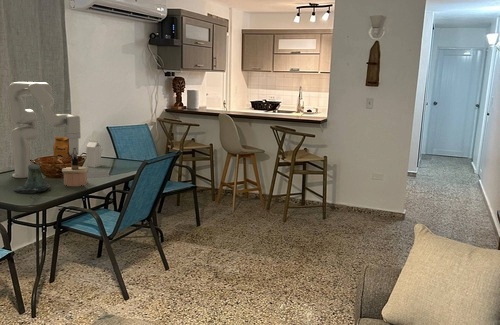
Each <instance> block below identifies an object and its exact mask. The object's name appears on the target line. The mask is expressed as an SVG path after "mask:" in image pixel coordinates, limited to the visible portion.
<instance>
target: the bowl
mask: <svg viewBox="0 0 500 325" xmlns="http://www.w3.org/2000/svg"><path fill="white" fill-rule="evenodd" d="M87 172H88V171H87ZM87 172H85V173H79V174H67V173H63V184H64V186H66V185H67V186H66V187H81V185H82V186H85V185H87V183H88V178H87Z"/></svg>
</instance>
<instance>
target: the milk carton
mask: <svg viewBox="0 0 500 325" xmlns="http://www.w3.org/2000/svg"><path fill="white" fill-rule="evenodd" d="M101 146H102V145H101V144H100V143H99V142H98V140H92V139H89V141H88V143H87V144H86V146H85V147H86V149H85V150H86V153H85V154H86V168H97V167H101V166H102V153H101V152H102V150H101V149H102V148H101Z"/></svg>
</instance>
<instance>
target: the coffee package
mask: <svg viewBox="0 0 500 325" xmlns="http://www.w3.org/2000/svg"><path fill="white" fill-rule="evenodd" d="M54 139H55V141H54V145H53V150H52V151H53V157H54V156H60V157H69V156H72V154H71V155H70V153H69V139H68V138H67V137H63V136H55V137H54Z"/></svg>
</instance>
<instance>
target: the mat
mask: <svg viewBox="0 0 500 325" xmlns="http://www.w3.org/2000/svg"><path fill="white" fill-rule="evenodd" d="M106 177H107V178H108V177H109V178H110V177H111V176H110V174H109V172H108V171H107V170H105V171H87V179H89V178H90V179H92V178H106Z"/></svg>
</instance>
